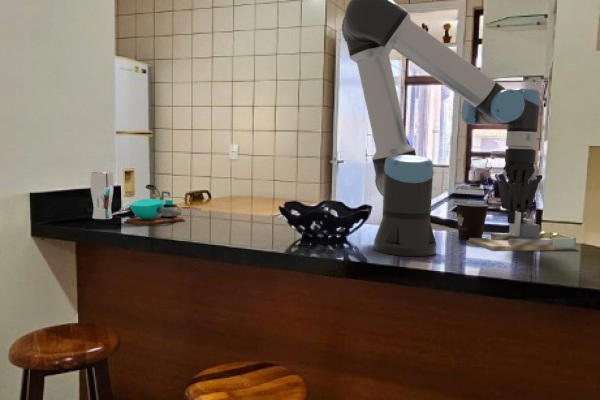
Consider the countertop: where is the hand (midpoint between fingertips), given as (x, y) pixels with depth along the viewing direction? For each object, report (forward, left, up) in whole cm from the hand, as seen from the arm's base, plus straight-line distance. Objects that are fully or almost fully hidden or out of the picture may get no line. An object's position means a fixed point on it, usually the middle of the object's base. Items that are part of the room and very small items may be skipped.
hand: (514, 235), depth 143 cm
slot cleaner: (+3, 0, -2) cm, 4 cm away
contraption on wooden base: (-97, +42, -3) cm, 105 cm away
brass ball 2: (+12, -1, -1) cm, 12 cm away
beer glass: (-115, +51, -3) cm, 126 cm away
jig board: (-1, 0, -3) cm, 3 cm away
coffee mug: (-6, +13, -3) cm, 15 cm away
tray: (+12, 0, -3) cm, 12 cm away
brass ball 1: (+9, 0, -1) cm, 9 cm away
